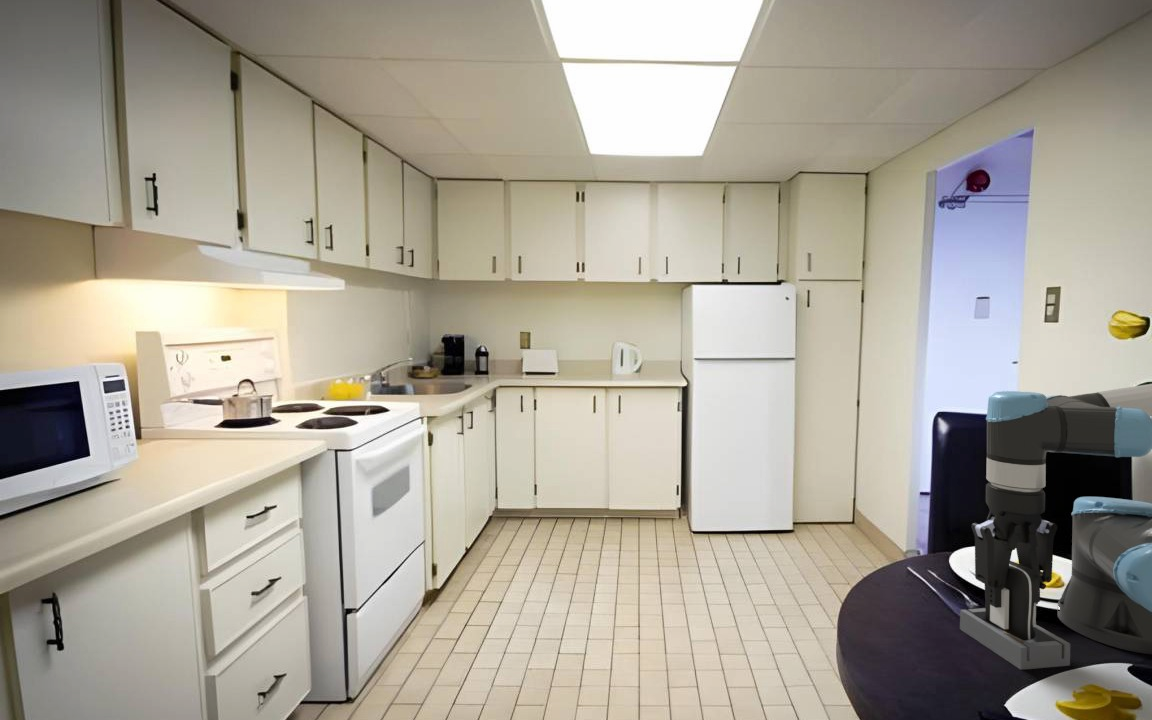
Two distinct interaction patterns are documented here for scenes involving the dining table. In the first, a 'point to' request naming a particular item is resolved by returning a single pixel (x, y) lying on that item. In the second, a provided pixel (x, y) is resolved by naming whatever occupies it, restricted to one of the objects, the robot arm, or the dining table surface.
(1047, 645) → the tray
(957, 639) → the dining table surface
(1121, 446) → the robot arm
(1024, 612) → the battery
